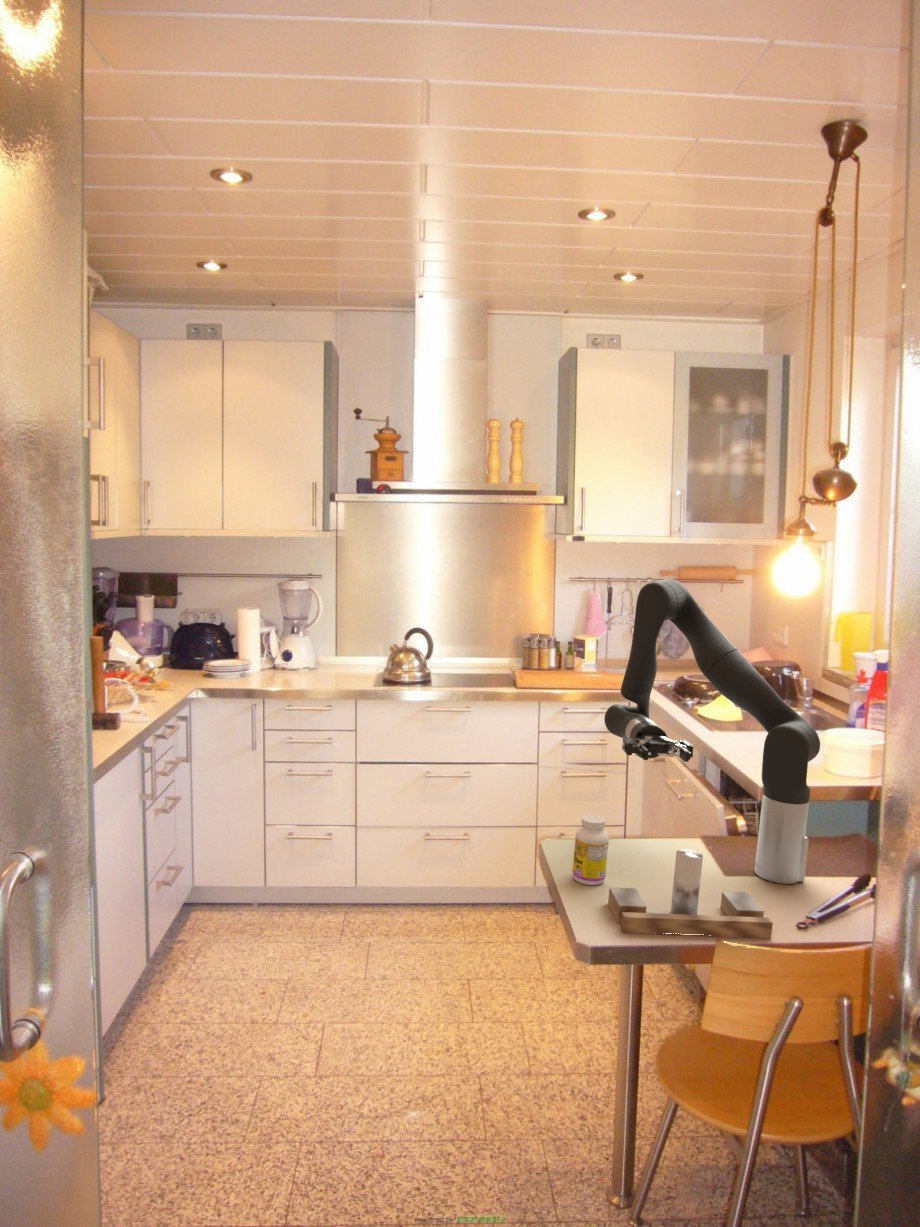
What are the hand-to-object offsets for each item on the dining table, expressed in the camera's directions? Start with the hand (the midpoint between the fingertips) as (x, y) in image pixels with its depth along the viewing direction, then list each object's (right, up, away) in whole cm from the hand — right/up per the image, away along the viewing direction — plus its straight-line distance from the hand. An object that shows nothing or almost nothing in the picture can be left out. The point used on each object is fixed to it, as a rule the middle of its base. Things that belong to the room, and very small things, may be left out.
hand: (667, 756), depth 184 cm
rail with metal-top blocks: (0, -28, -18) cm, 33 cm away
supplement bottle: (-16, -25, -2) cm, 30 cm away
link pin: (-1, -27, -16) cm, 32 cm away
